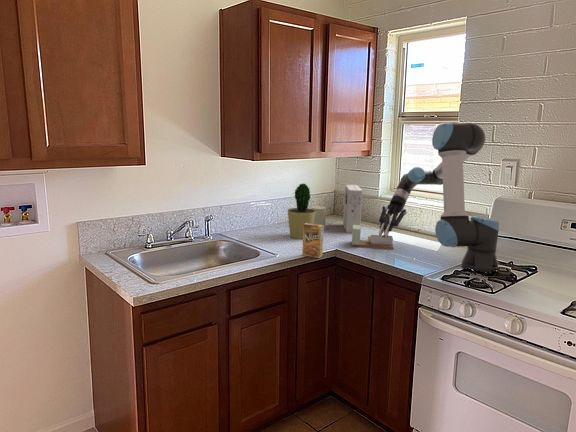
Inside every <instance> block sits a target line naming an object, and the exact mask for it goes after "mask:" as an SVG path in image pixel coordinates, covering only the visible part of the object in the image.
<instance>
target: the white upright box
mask: <svg viewBox="0 0 576 432" xmlns="http://www.w3.org/2000/svg"><path fill="white" fill-rule="evenodd" d="M344 186H345V187H344V199H343V202H344V203H343V215H342V217H343V218H342V224H343V227H344V230H345V232H346V234H352V232H353V225H361V221H362V220H361V219H362V204H363V189H362V188H361V187H360V186H358V184H357V185H356V184H345V185H344Z"/></svg>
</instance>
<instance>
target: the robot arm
mask: <svg viewBox="0 0 576 432" xmlns="http://www.w3.org/2000/svg"><path fill="white" fill-rule="evenodd" d="M485 142H486V133H485V131H484V129H483V128H482V127H481V126H480V125H478V124H476V123H472V122H469V123H466V122H441V123H440V124H438V125H437V126H436V128H435V130H434V131H433V134H432V137H431V144H432V147H433V149H434V150H436V151H437V155H438V156H439V157H440V158H441V162H440V163H439V164H438V165H437V166H436V167H435V168H434V169H424V168H423V167H421V166H415V167H413V168H411V169H410V170H409V171H408V172H407V173H404V174H403V175H402V176H401V178H400V180H399V183H398V184H397V187H396V189H395V191H394V193H393V195H392V197H391V199H390V202H389V203H388V205H387V206H385V205H384V206H382V209H381V213H380V216H379V218H378V221H379V224H380V226H379V230H378V234H377V235H380V236H382V235H385V237H387V236H389V233H390V232H392V230H393V228H394V227H398V226H399V225H400V223H401V221H402V220H403V218H404V216H405V215H406V214H407V210H406V209H404V208H405V205H406V204H407V201H408V199H409V196H410V194H411V192H412V190H413V189H414V188H415V187H417V186H418V185H426V186H428V185H431V186H432V185H433V186H434V185H436V186H437V185H438V186H442V197H443V213H442V214H441V215H440V218H439V220H438V221H436V224H435V226H434V227H435V228H434V230H435V231H434V232H435V236H436V238H437V241H438V242H439V243H440V244H441V245H442V246H443V247H449V248H458V247H460V248H461V247H464V248H465V247H467V249H466V252H465V254H464V255H463V257H462V260H461V265H462V266H461V265H460V266H461V268H463V267H464V268H470V269H473V270H476V271H480V272H490V271H492V270H494V269H497V268H498V269H499V262H498V259H497V254H496V253H497V244H498V236H499V232H500V223H499V222H498V220H496V219H493V218H490V217H487V216H480V215H472V216H470V215H469V213H468V212H466V209H465V205H466V204H465V203H466V202H465V181H464V178H465V177H464V163H465V161H467V160H468V159H469V158H470V157H471V156H475V155H476V154H478V153H479V152H480V151H481V150H482V149H483V147H484V146H485ZM385 214H390V217H391V216H392V217H391V219H390V222H389V224H388V226H387V229H386V231H385V233H384V223H385ZM469 216H470V217H469ZM464 268H463V269H464Z"/></svg>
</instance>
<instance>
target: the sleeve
mask: <svg viewBox="0 0 576 432" xmlns="http://www.w3.org/2000/svg"><path fill="white" fill-rule="evenodd" d="M370 236H371V242H370V244H378V245H392V243H393V241H394V239H393V235H388V237H383V236H384V234H382V236H380V235H379V234H370Z"/></svg>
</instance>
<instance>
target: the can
mask: <svg viewBox="0 0 576 432" xmlns="http://www.w3.org/2000/svg"><path fill="white" fill-rule="evenodd" d="M310 209H314V210H316V212H315V218H314V223H313V224H320V225H324V228H326V219H327V218H326V217H327V207H326V206H322V205H313V206H311V208H310Z"/></svg>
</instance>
